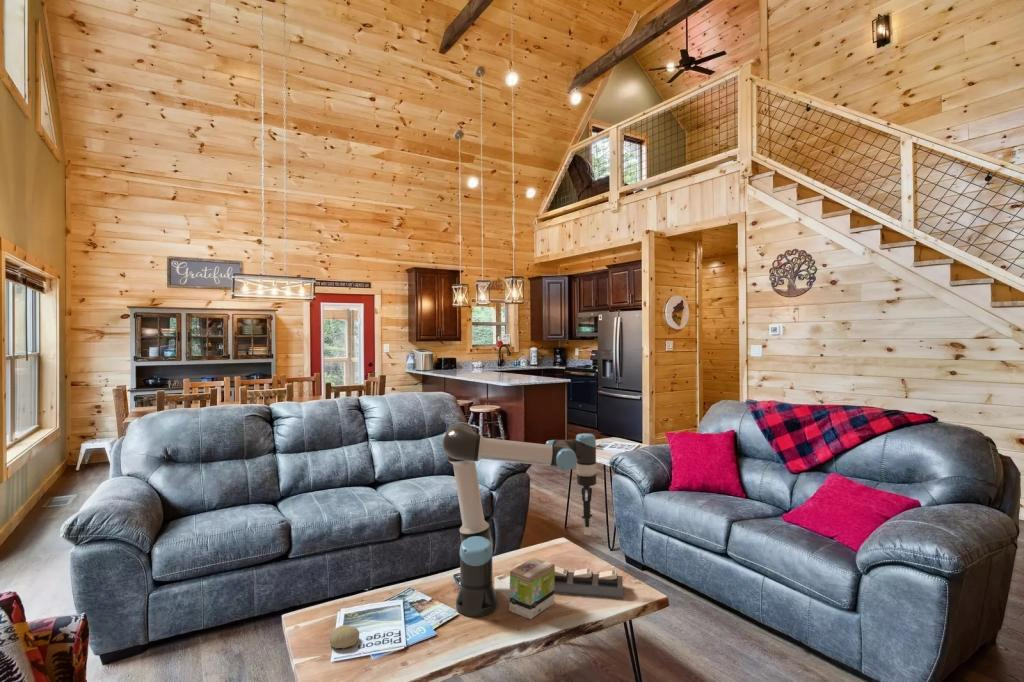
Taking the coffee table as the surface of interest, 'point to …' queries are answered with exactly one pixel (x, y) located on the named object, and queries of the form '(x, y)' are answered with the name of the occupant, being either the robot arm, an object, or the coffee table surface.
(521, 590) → the tea box
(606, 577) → the rocker
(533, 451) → the robot arm
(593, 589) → the rocker switch panel
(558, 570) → the rocker
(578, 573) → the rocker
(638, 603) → the coffee table surface
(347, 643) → the brown kiwi fruit
